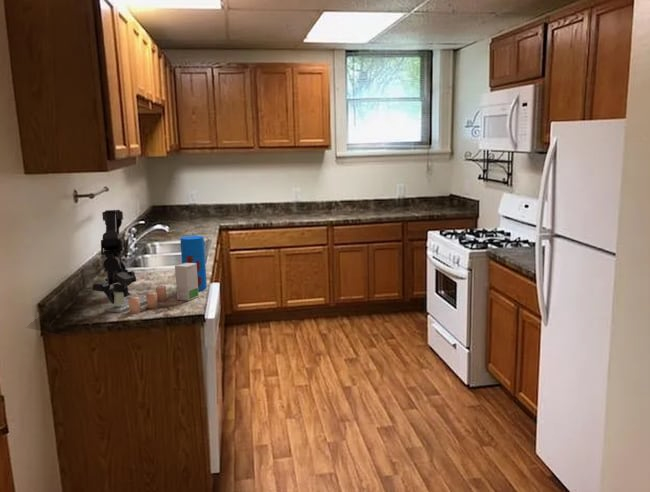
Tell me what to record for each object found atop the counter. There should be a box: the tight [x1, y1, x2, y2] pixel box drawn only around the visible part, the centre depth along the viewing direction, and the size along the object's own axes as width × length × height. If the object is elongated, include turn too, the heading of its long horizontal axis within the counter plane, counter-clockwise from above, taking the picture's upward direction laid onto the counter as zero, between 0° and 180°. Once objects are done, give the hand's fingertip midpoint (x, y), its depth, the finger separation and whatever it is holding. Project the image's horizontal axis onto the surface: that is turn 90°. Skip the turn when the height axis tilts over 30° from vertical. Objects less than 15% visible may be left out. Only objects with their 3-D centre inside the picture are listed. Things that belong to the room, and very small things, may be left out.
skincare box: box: [174, 263, 200, 301], centre depth 243 cm, size 8×7×16 cm
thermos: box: [179, 235, 208, 292], centre depth 258 cm, size 11×11×25 cm
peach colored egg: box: [127, 296, 142, 314], centre depth 225 cm, size 4×4×6 cm
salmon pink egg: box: [145, 291, 159, 310], centre depth 231 cm, size 4×4×6 cm
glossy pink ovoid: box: [155, 285, 168, 302], centre depth 241 cm, size 4×4×6 cm
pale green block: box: [109, 292, 125, 306], centre depth 229 cm, size 4×4×5 cm
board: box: [104, 296, 147, 314], centre depth 234 cm, size 9×19×1 cm, turn 154°
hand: (116, 302), depth 229 cm, fingers closed on pale green block, 4 cm apart
